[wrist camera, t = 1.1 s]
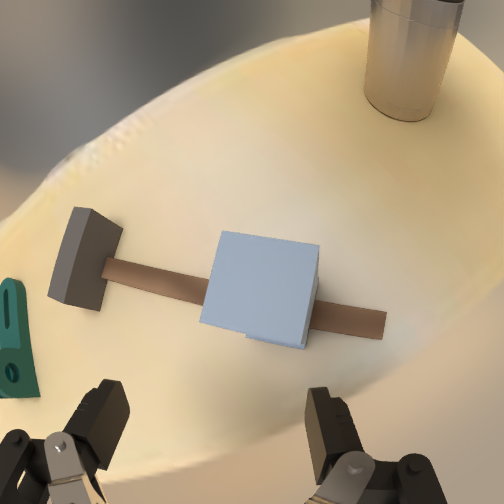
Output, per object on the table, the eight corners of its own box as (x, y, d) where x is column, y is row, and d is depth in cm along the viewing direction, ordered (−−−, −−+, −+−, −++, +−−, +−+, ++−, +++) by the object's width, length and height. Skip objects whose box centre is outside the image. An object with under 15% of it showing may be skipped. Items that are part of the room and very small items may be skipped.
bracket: (41, 396, 29) (-2, 398, 22) (19, 397, 30) (-20, 398, 22) (26, 275, 35) (-13, 262, 28) (6, 287, 36) (-30, 276, 28)
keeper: (264, 271, 28) (225, 218, 16) (318, 280, 26) (321, 232, 14) (250, 337, 26) (196, 335, 14) (304, 348, 25) (296, 359, 13)
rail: (113, 259, 32) (107, 256, 31) (383, 313, 24) (386, 312, 23) (107, 279, 31) (101, 277, 30) (379, 339, 24) (381, 339, 23)
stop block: (105, 225, 33) (74, 206, 28) (122, 228, 33) (91, 208, 27) (82, 304, 31) (47, 296, 25) (99, 311, 30) (63, 303, 25)
